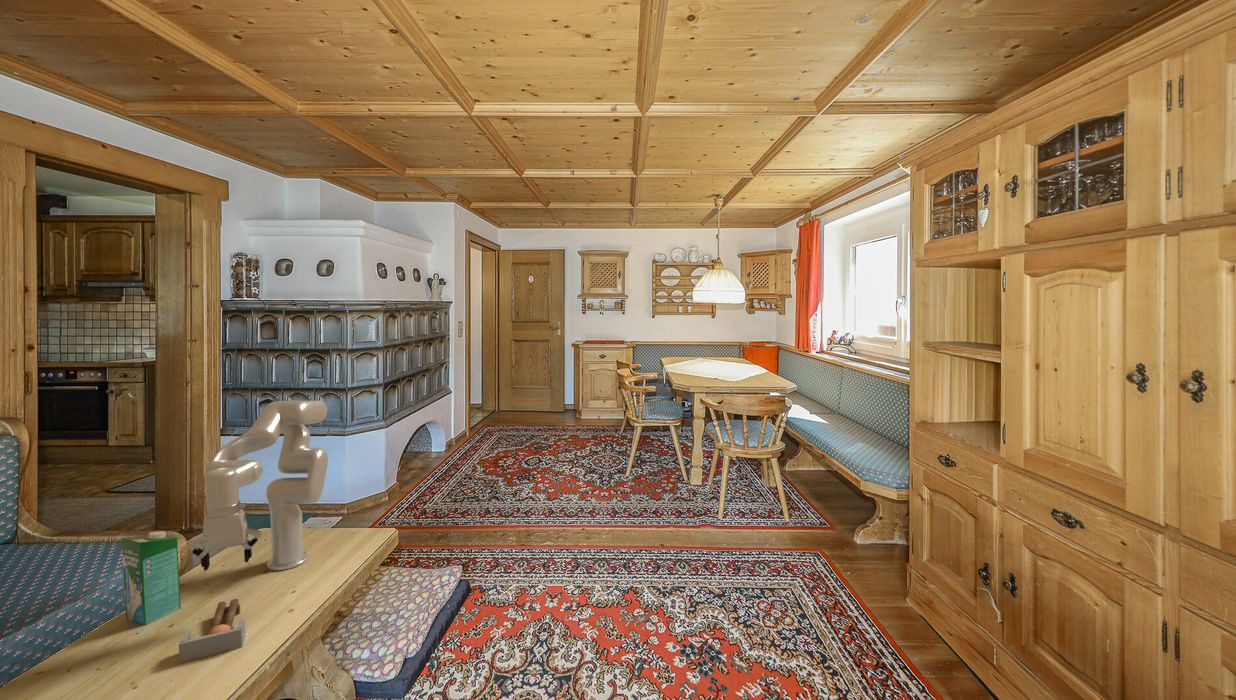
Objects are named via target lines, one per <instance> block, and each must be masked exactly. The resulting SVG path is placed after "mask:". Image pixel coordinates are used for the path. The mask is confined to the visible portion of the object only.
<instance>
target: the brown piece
mask: <svg viewBox="0 0 1236 700" xmlns="http://www.w3.org/2000/svg"><path fill="white" fill-rule="evenodd" d="M239 601H240V600H239V599H238V598H233V599H231V600H230V603H229V606H227V602H226V601H220V602H219V603H218V604H217V606H216V610H215V612H214V616H213V618H212V622H211V625H210V628H209V631H208V633H207V635H209V633H210V632H211V630H212V629H213V628H215V627H216V626H218V625H221V622H222V619H223V618H224V622H223V624H225V625H228V626H229V627H230V628H231V630H232V629H235V626H233V622H234V620H235V616H236V615H240V613H241V603H239Z"/></svg>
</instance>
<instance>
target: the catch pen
mask: <svg viewBox="0 0 1236 700" xmlns="http://www.w3.org/2000/svg"><path fill="white" fill-rule="evenodd" d="M246 634H247V633H246V618H244V619H239V621H238V624H237V626H236V628H234V629H232V630H228V631H223V632H219V633H215V634H211V635H208V634H207V635H203V636H200V637H196V638H192V633H191V631H187V632H184V634H183V635H182V638H181V639H180V641H179V643H178V657H179V663H184V662H188V661H192V660H196V659H200V658H204V657H207V656H213V655H215V654H219V653H224V652H228V651H231V650H236V649H239V648H242V647H243V644H244V642H245V639H246V636H247V635H246Z"/></svg>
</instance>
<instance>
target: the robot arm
mask: <svg viewBox="0 0 1236 700" xmlns="http://www.w3.org/2000/svg"><path fill="white" fill-rule="evenodd" d="M327 415H328V407H327V404H326V403H325V402H324V401H322V400H277V401H276V400H275V401H271V402H270V403H268V404H267V405H266V406H265V407H264V408H263V410H262V411H261V413H260V414H259V416H258V417H257V419H256V420H255V421H254V423H253V424H252V426H251V427H250V429H249V430H248V431H247V432H245V433H244V434H242V435H239V436H238V437H236V438H234V439H233V440H231V441H229V442H227V443H226V444H224V445H223V446H222V447H221V448H219V450H217V452H216V453H215V454H214V456H213V457H212V458H211V460H210V461H209V463H208V464H207V467H205V468H206V469H205V471H204V487H205V488H204V489H205V499H206V501H205V502H206V503H205V504H206V515H205V517H204V520H203V526H202V527H203V528H202V535H201V536H200V537H198V538H195V539H194V540H193V541H191V542H189V543H188V545H187V548H188V549H189V550H190V552H192V554H193V555H194V556H197V557H198V558H199V559H200V563H201V568H203V571H204V572H205V571H207V570H208V569H209V567H210V565H211V564H210V561H211V560H210V554H209V551H215V550H221V549H227V548H233V547H238V546H242V547H243V548H244V550H243V552H244V553H243V556H244V563H248V562H249V560H250V559H251V558H252V557H253V552H252V547H253V546H254V545H255V544H256V543H257V542H258V540H259V538H260V536H261V535H262V530H258V529H254V528H249V527H248V522H247V517H246V515H245V511H244V509H243V508H246V507H247V506H246V502H241V500H240V491H239V489H240V488H242V487H245V486H249V485H251V484H254V483H256V481H258V480H260V478H261V476H262V475H263V473H264V472H263V471H264V467H263V465H262V463H260V462H259V461H258V460H254V459H239V458H242V457H244V456H246V455H248V454H249V455H250V454H251V453H255V452H257V451H258V452H259V451H260V450H263V449H267V448H269V447H271V446H273V445H274V444H276V442H277V440H278V439H279V437H280V435H281V434H282V433H283V438H282V445H281V450H280V452H279V453H280V454H279V457H278V458H279V459H278V462H277V463H278V465H277V469H278V471H279V472H280V473H281V474H284V475H287V474H288V475H307V476H303V477H301V476H300V477H280V478H276V479H274V480H272V481H271V482H270V483H268V485H267V487H266V490H265V494H266V497H265V498H266V500H267V504H268V507H269V514H270V515H269V516H270V517H269V518H270V537H271V558H270V559H269V560H268V561H267V563H266V568H267V569H268V570H269V571H284V570H290V569H293V568H296V567H298V566H300V565H302V564H304V563H305V562H307V560H308V559H309V553H308V552H307V551H304V539H303V538H304V537H303V535H304V534H303V512H302V510H301V508H300V506H299V505H311V504H314V503H315V504H316V503H317V502H318V501H319V500H320V499H321V497H322V494H323V490H324V486H325V481H326V474H327V470H328V469H327V468H328V463H329V456H328V453H327V450H325V449H324V448H321V447H310V442H311V441H310V440H311V433H310V431H309V429H308V428H307V427H306V425H312V424H318V423H322V422H323V421H324V420H325V419H326V417H327ZM249 535H252V536H254V537H253V538H252V539H251V540H250V539H249V538H248V537H249ZM200 543H201V544H202V548H203V549H202V548H199V547H198V546H197V545H199V544H200Z"/></svg>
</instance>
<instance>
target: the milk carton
mask: <svg viewBox="0 0 1236 700" xmlns="http://www.w3.org/2000/svg"><path fill="white" fill-rule="evenodd" d="M178 543H179V542H178V537H177V536H172V535H169V534H167V531H161V530H159V531H157V530H156V531H155V530H154V531H151V532H149V533H148V534H140V535H134V536H125V537H121V551H122V554H121V555H122V570H123V571H122V573H123V588H124V589H123V591H124V605H125V606H124V607H125V619H127V620H128V621H131V622H135V623H137V624H139V625H140V624H141V625H142V626H147V625H148V624H150V623H153V622H154V621H156V620H158V619H161V618H163V617H164V616H167V615H168V614H169V615H170V614H171V613H173V612H175V610H176V611H177V609H178V610H180V609H181V608H182V607H181V590H180V589H181V587H180V566H179V565H180V564H179V544H178Z"/></svg>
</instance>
